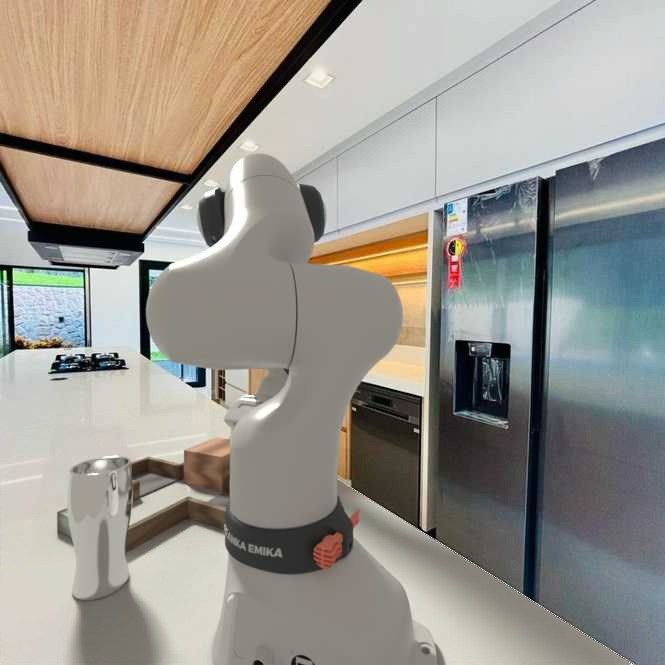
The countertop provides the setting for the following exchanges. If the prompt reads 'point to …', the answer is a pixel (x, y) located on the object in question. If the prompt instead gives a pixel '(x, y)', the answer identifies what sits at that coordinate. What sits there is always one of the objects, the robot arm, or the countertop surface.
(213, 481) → the terracotta block
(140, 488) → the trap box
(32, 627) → the countertop surface
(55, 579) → the countertop surface
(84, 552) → the beer glass
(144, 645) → the countertop surface
